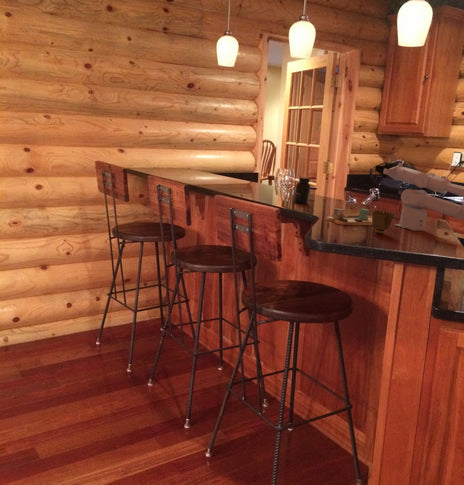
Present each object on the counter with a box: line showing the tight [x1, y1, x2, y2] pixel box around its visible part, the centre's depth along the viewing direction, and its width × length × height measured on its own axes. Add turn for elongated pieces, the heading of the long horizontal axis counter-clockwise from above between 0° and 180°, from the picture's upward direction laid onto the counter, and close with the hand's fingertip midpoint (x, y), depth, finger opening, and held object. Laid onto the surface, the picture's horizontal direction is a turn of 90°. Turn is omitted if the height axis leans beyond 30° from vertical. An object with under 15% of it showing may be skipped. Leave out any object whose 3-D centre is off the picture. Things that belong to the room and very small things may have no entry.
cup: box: [371, 210, 395, 236], centre depth 188 cm, size 8×7×8 cm
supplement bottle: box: [293, 176, 312, 205], centre depth 244 cm, size 7×7×12 cm
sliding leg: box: [358, 208, 372, 220], centre depth 208 cm, size 6×2×4 cm, turn 32°
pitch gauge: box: [324, 207, 373, 226], centre depth 207 cm, size 10×24×5 cm, turn 122°
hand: (382, 168), depth 221 cm, fingers open, 7 cm apart
